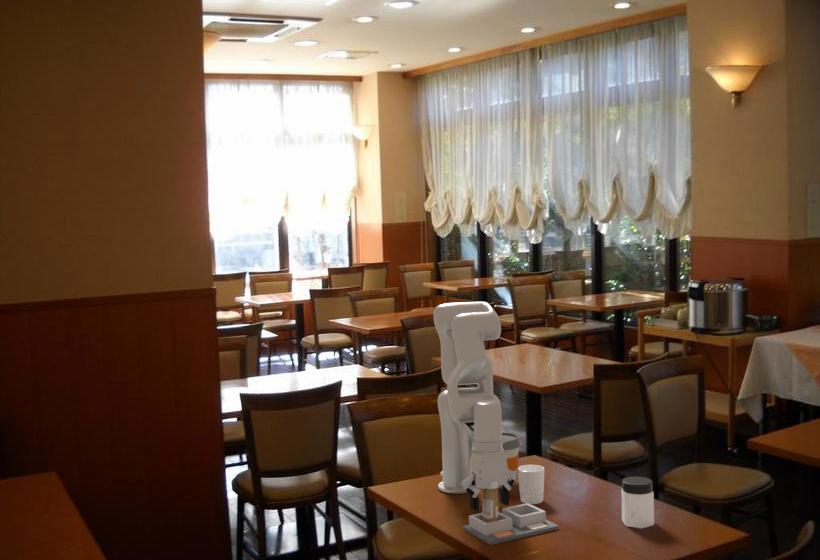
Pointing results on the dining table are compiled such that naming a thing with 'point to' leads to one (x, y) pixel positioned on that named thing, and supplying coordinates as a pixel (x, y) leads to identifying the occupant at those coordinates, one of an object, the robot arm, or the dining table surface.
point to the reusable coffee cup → (511, 451)
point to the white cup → (531, 483)
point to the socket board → (510, 524)
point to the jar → (637, 502)
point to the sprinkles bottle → (490, 503)
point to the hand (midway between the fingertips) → (490, 507)
